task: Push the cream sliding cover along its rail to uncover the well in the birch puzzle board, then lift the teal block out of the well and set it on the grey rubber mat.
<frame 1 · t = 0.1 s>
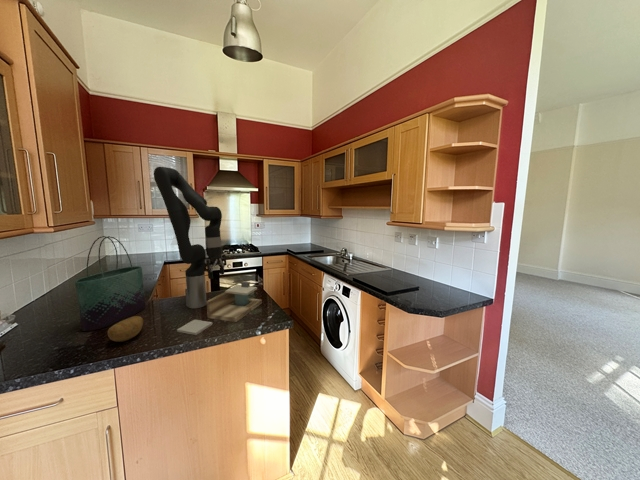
hand: (216, 276, 132), 17 cm above the counter, tool pointing down, fingers open, 8 cm apart
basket: (116, 318, 123), on the counter
mat: (195, 327, 113), on the counter
puzzle board: (236, 309, 132), on the counter
potato: (128, 338, 104), on the counter
cover: (241, 287, 135), point 10 cm above the counter, slide at 0.0 cm
block: (242, 306, 137), resting in puzzle board
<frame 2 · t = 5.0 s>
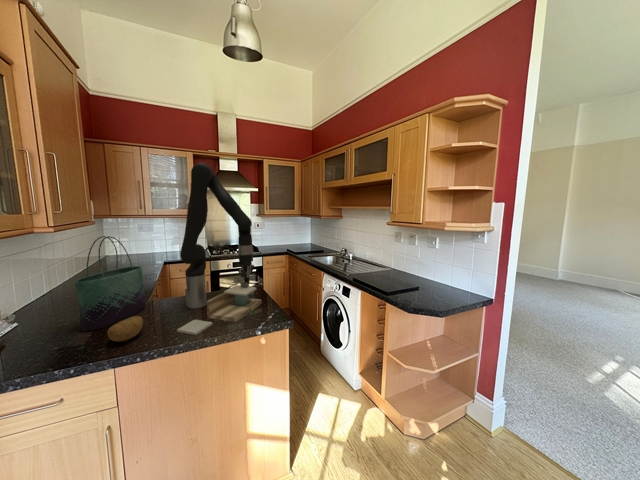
hand: (246, 283, 141), 11 cm above the counter, tool pointing down, fingers closed
cover: (240, 288, 135), point 10 cm above the counter, slide at 0.8 cm, touching gripper
everything else where it was.
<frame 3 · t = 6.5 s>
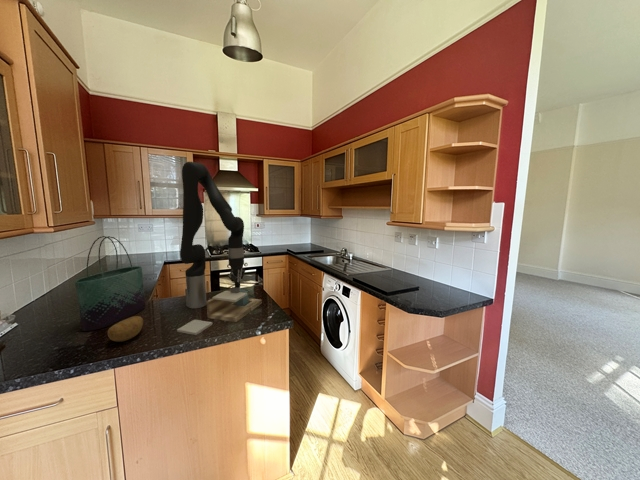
hand: (237, 288, 132), 11 cm above the counter, tool pointing down, fingers closed
cover: (230, 293, 126), point 10 cm above the counter, slide at 9.5 cm, touching gripper
everything else where it was.
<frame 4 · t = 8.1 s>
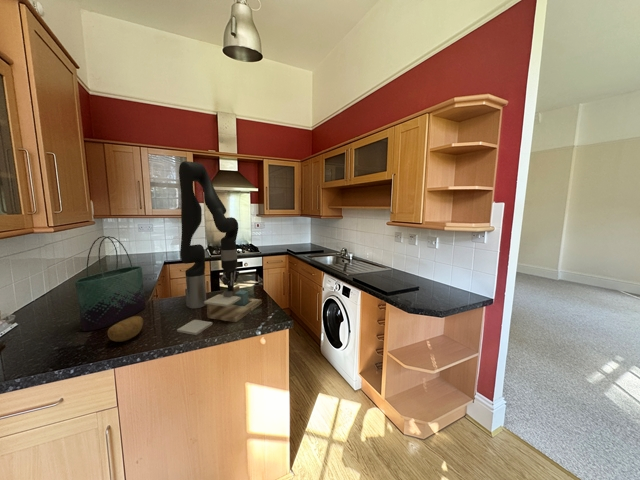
hand: (230, 292, 127), 11 cm above the counter, tool pointing down, fingers closed
cover: (222, 297, 121), point 10 cm above the counter, slide at 15.3 cm, touching gripper
everything else where it was.
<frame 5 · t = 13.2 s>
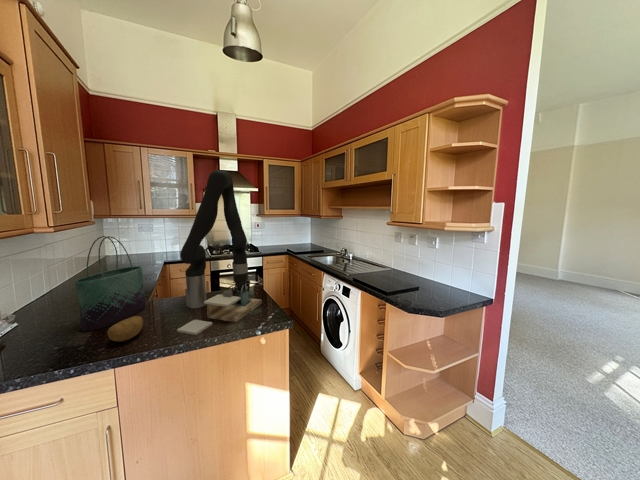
hand: (241, 302, 136), 2 cm above the counter, tool pointing down, fingers closed on block, 5 cm apart
cover: (222, 297, 121), point 10 cm above the counter, slide at 15.4 cm
block: (242, 306, 137), resting in puzzle board, touching gripper
everything else where it was.
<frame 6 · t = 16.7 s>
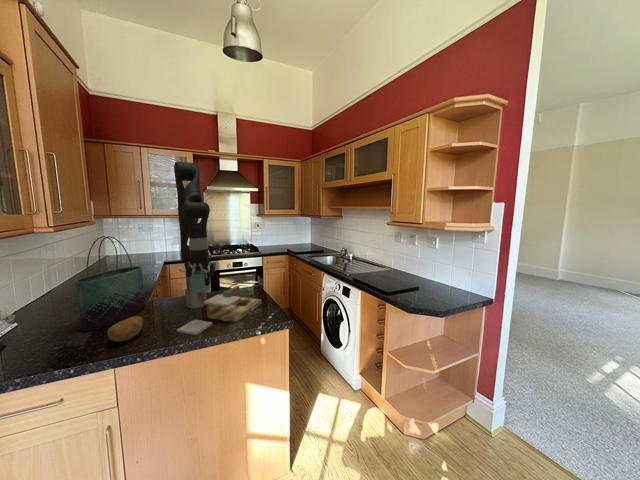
hand: (201, 285, 114), 19 cm above the counter, tool pointing down, fingers closed on block, 5 cm apart
block: (201, 290, 114), point 16 cm above the counter, touching gripper
everything else where it was.
when the fingers open (5 cm above the counter, at t = 20.2 s): block drops 1 cm, resting on mat.
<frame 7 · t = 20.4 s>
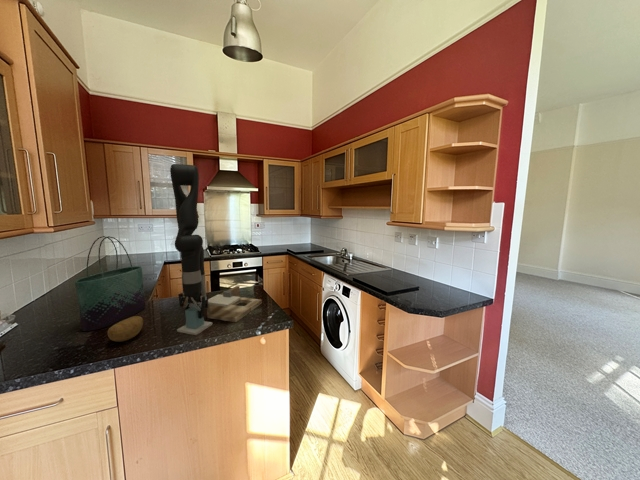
hand: (194, 316, 112), 5 cm above the counter, tool pointing down, fingers open, 6 cm apart
block: (195, 325, 113), point 1 cm above the counter, touching mat
everything else where it was.
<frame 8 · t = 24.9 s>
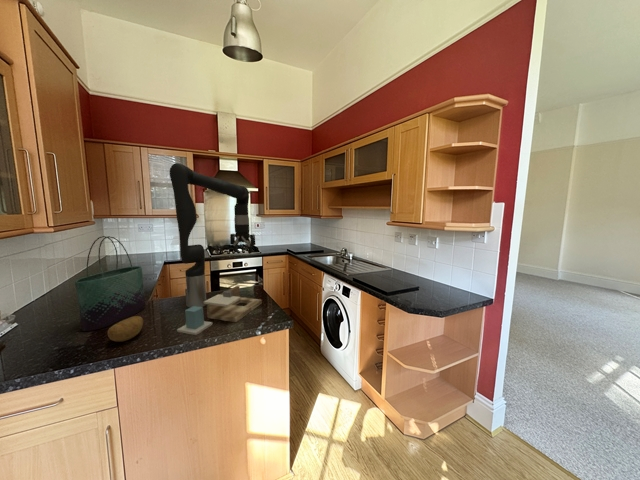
hand: (243, 252, 139), 28 cm above the counter, tool pointing down, fingers open, 8 cm apart
nothing on the counter moved.
at the end: cover slide at 15.4 cm; block inside the target area on the mat (0.2 cm from its centre), point 1.0 cm above the mat's base; block tilted 0° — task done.
